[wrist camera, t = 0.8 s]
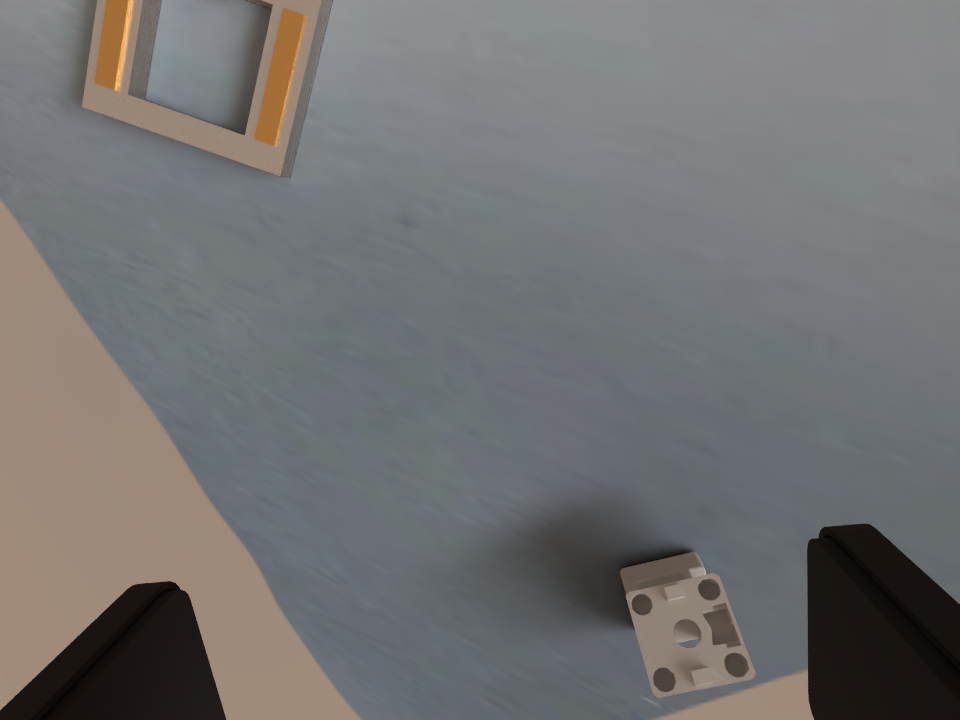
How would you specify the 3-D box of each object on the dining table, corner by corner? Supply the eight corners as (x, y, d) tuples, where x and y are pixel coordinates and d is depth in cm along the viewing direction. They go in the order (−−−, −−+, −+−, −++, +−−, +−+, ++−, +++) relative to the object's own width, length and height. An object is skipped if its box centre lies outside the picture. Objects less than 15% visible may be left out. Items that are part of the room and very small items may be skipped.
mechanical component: (637, 630, 41) (672, 759, 31) (608, 534, 39) (636, 639, 30) (713, 614, 40) (773, 741, 30) (687, 515, 38) (742, 616, 29)
